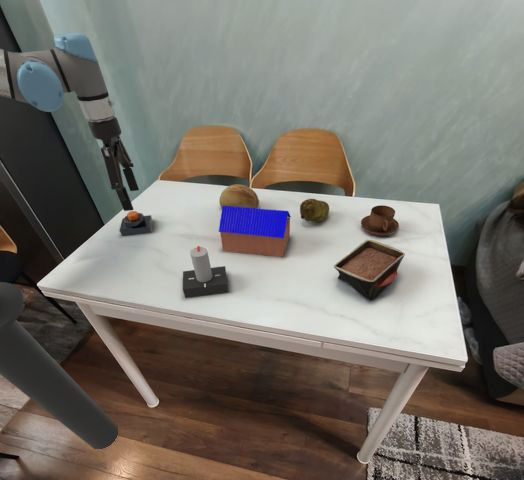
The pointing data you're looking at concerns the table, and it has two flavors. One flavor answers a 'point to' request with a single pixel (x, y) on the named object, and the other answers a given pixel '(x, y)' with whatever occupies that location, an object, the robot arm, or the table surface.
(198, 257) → the timer dial
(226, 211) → the house
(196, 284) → the timer panel
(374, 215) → the cup and saucer
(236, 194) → the bread roll
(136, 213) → the button
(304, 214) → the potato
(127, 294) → the table surface
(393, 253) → the baking dish
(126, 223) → the button block
